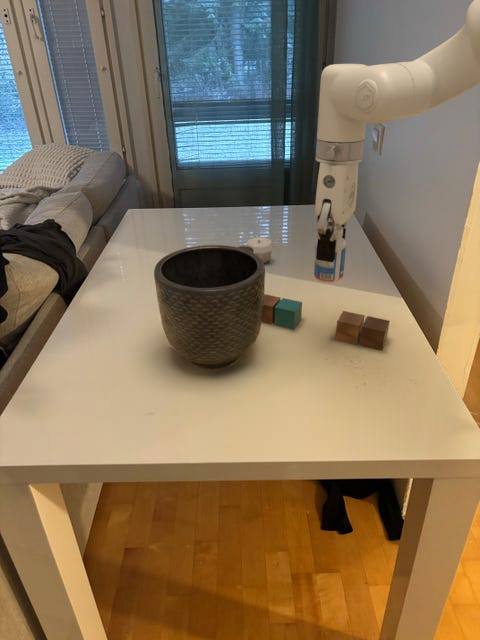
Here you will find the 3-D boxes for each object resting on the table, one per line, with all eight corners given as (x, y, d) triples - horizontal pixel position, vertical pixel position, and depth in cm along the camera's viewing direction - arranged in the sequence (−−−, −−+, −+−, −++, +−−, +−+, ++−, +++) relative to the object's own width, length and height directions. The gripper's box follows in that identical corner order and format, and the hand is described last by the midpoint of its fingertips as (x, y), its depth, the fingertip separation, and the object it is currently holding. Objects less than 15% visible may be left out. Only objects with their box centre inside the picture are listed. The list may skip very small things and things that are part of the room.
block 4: (386, 339, 95) (389, 320, 93) (382, 350, 92) (385, 331, 90) (364, 334, 97) (367, 315, 95) (359, 345, 94) (362, 326, 91)
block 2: (301, 319, 103) (302, 302, 100) (293, 329, 99) (294, 311, 97) (282, 315, 104) (282, 297, 102) (274, 325, 101) (274, 307, 99)
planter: (255, 390, 82) (256, 295, 72) (150, 379, 86) (136, 286, 76) (269, 331, 99) (271, 247, 89) (180, 323, 102) (172, 241, 92)
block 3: (362, 333, 97) (364, 315, 95) (356, 344, 94) (359, 325, 92) (341, 329, 99) (343, 310, 97) (335, 339, 96) (337, 320, 93)
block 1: (280, 315, 104) (280, 297, 102) (272, 324, 101) (272, 306, 99) (261, 310, 106) (261, 293, 104) (253, 320, 103) (253, 302, 100)
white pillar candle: (239, 263, 129) (239, 241, 125) (254, 253, 134) (254, 232, 131) (264, 269, 125) (264, 247, 122) (278, 259, 131) (279, 237, 127)
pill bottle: (331, 269, 91) (335, 220, 86) (348, 279, 86) (354, 229, 81) (307, 274, 88) (310, 225, 83) (324, 286, 84) (328, 234, 79)
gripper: (348, 163, 68) (337, 276, 77) (374, 142, 81) (361, 241, 90) (299, 159, 70) (294, 268, 80) (332, 139, 84) (324, 235, 93)
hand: (330, 253), depth 85 cm, fingers closed on pill bottle, 5 cm apart
